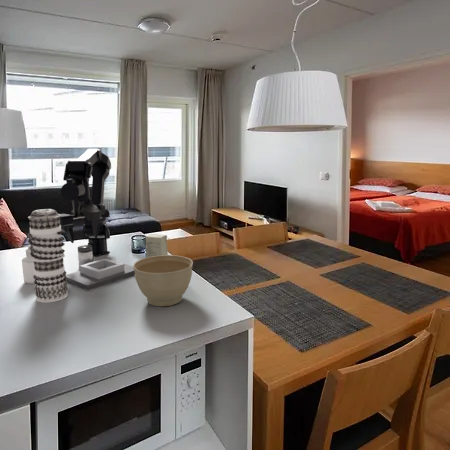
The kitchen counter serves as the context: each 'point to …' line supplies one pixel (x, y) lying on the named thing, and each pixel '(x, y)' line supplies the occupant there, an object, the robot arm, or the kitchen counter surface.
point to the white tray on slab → (99, 273)
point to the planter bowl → (163, 278)
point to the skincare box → (156, 245)
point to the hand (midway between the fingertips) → (84, 240)
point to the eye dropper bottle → (28, 267)
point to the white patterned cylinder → (47, 255)
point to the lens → (85, 254)
